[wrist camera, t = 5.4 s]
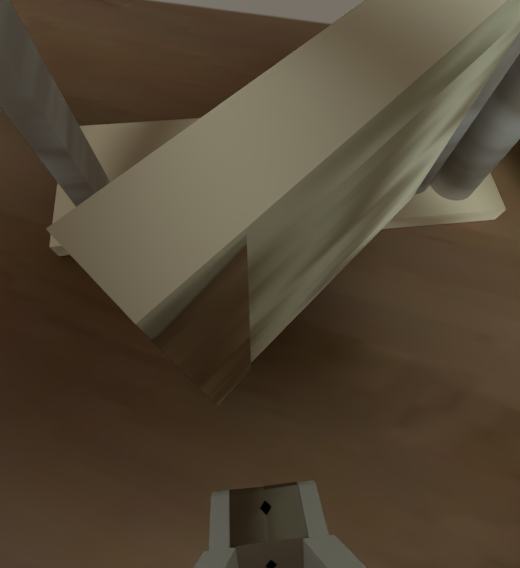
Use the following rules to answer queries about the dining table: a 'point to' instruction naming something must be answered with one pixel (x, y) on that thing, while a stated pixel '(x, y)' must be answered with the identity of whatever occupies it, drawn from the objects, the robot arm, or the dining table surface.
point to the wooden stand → (153, 134)
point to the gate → (289, 179)
